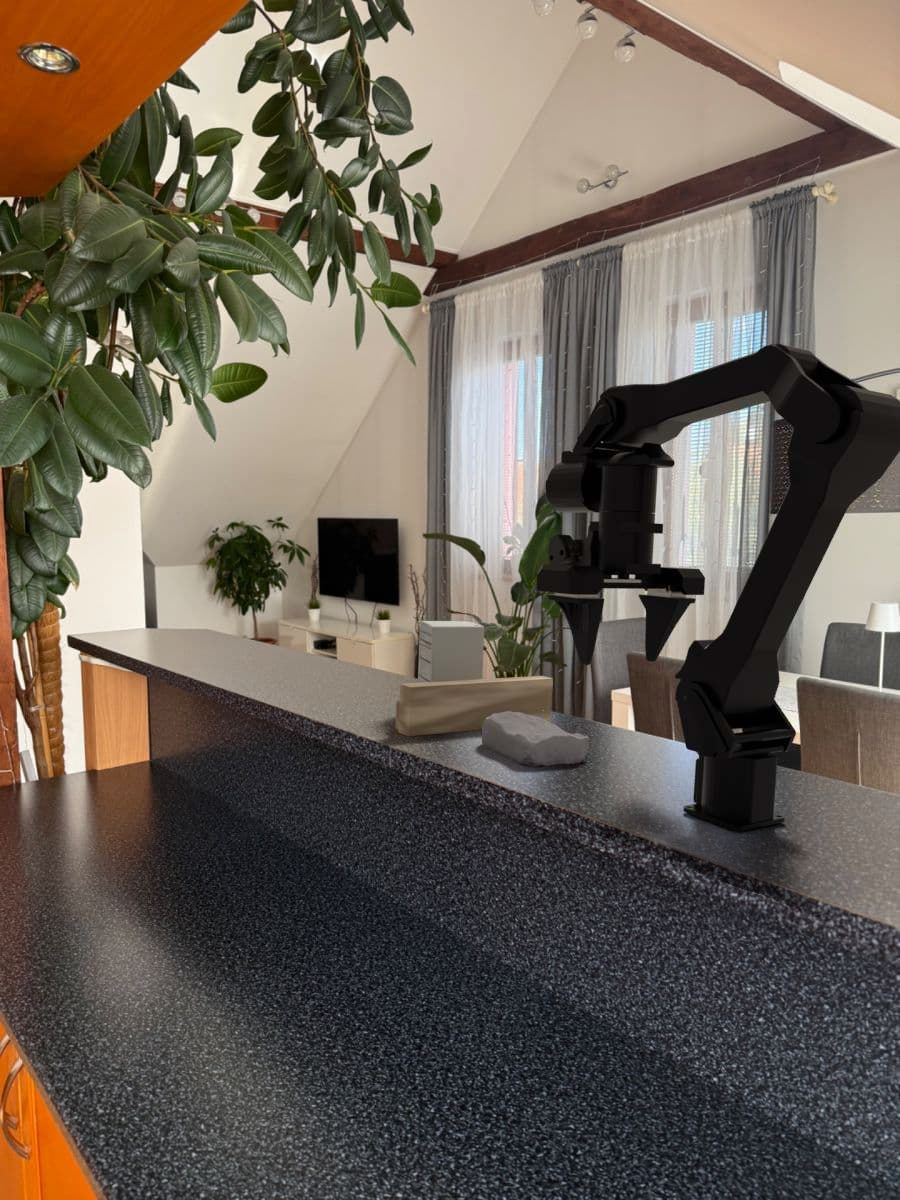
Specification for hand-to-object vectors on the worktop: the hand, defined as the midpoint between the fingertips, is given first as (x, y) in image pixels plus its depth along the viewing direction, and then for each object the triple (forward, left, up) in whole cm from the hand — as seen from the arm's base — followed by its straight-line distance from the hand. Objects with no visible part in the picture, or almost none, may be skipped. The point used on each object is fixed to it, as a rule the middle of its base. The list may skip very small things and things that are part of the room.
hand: (618, 662), depth 95 cm
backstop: (+25, 0, -12) cm, 28 cm away
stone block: (+11, +1, -12) cm, 17 cm away
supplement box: (+34, -1, -12) cm, 36 cm away
